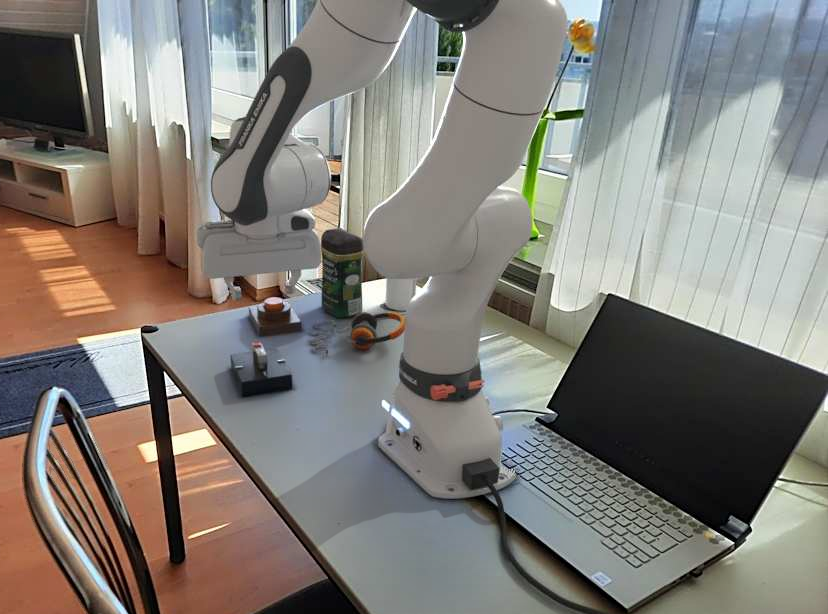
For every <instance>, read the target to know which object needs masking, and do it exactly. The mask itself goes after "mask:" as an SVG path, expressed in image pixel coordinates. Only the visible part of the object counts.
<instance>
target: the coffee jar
mask: <svg viewBox="0 0 828 614" xmlns="http://www.w3.org/2000/svg"><path fill="white" fill-rule="evenodd" d="M320 246H321V265H322V266H321V267H322V269H321V270H322V271H321V275H322V276H321V308H322V309H323V310H324V311H325V312H326V313H328V314H329V315H331V316H333V317H335V318H339V319H341V318H343V319H344V318H345V319H346V318H347V319H349V318H354V317H355V316H356V315H357V314H359V313H363V312H362V311H363V287H362V286H363V285H362V284H363V283H362V282H363V280H362V278H363V277H362V265H363V264H362V263H363V262H362V261H363V257H364V242H363V237H360V236H359V235H357V234H355V233H353V232H352V231H351V232H350V231H349V230H346V229H343V228H342V227H336V228H330V229H326V230H324V231H323V233H322V234H321V239H320Z"/></svg>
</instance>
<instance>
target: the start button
mask: <svg viewBox="0 0 828 614" xmlns="http://www.w3.org/2000/svg"><path fill="white" fill-rule="evenodd" d="M283 301H284V299H283V298H281V297H276V296H272V297H267V298H265V299H264V301H263V302H264V306H265V310H268V311H278V310H281V309H283Z"/></svg>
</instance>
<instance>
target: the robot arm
mask: <svg viewBox="0 0 828 614" xmlns="http://www.w3.org/2000/svg"><path fill="white" fill-rule="evenodd" d="M417 10H418V11H420V12H421V13H423V14H425V16H428V17H430V18H431V19H433V20H434V21H435V22H436V23H437V24H439V26H441V27H442V29H444V30H445V31H447V32H448V33H451V34H461V33H462V35H463V36H462V37H463V40H462V41H463V43H462V49H461V53H460V57H459V60H458V63H457V67H456V69H455V73H454V76H453V80H452V83H451V86H450V90H449V93H448V97H447V99H446V102H445V105H444V109H443V111H442V115H441V118H440V121H439V124H438V126H437V129H436V132H435V135H434V137H433V140H432V142H431V143H430V145H429V147H428V149H427V151H426V152H425V154H424V156H423V157H422V159H421V160H420V162H419V163H418V165H417V166H416V168H415V169H414V170H413V171H412V173H411V174H410V175H409V177H408V178H407V179H406V181H405V182H404V183H403V184H402V185H401V186H400V187H399V188H398V189H397V190H395V191H396V192H394V193H393V194H392V195H391V196H389V198H387V199H386V200H385V201H383V202H382V203H380V204H379V205H377V206H375V207H374V208H373V209H372V210H371V212H370V213H369V215H368V217H367V219H366V222H365V225H364V228H363V235H362V236H363V237H362V239H363V250H364V253H365V255H366V257H367V258H366V259H368V262H369V263H370V265H371V267H372V268H373V269H374V270H375V271H376V272H377V273H378V274H379V275H380V276H382V277H384V278H390V279H416V280H423V279H427V278H429V279H428V281H427V282H426V284H425V285H424V286H423V287H422V288H421V289H420V290H419V291H418V292H416V294H415V296H414V297H413V298H412V300H411V301H410V303H409V304H408V307H407V309H406V310H405V313H404V315H405V316H404V319H405V331H404V332H403V335H404V336H403V350H402V351H401V353H400V358H399V362H398V370H399V371H398V378H399V382H398V385H397V387H396V388H395V390H394V391H393V393H392V394H391V396H390V399H389V403H388V402H387V401H386V400H385V399H383V400H382V401H381V406H382V407H383V408H384V409H385V410H386V411H387V419H386V420H387V421H386V428H385V432H384V433H383V434H381V435H379V437H378V440H377V441H378V442H377V446H378V448H379V449H380V450H381V451H382V452H383V453H384V454H385V455H387V456H388V457H389V458H390V459H391V460H392V461H393V462H394V463H395V464H396V465H397V466H398V467H399V468H401V470H403V471H404V473H406V474H407V476H409V477H410V478H411V479H412V480H413V481H414V482H415V483H416V484H417V485H418V486H419V487H420V488H422V489H423V490H424V491H425V492H426V493H427V494H428V495H429V496H431V497H433V498H439V499H454V500H456V499H457V500H458V499H466V498H473V497H478V496H482V495H486V494H490V493H491V494H492V495H493V498H494V499H495V502H496V505H497V510H498V511H497V512H498V516H499V523H500V539H501V541H500V542H501V546H502V549H503V551H504V554H505V556H506V557H507V559H508V561H509V562H510V564H511V565H512V567H513V568H514V569H515V571H516V572H517V573H518V574H519V575H520V576H521V577H522V578H523V579H524V580H525V581H526V582H528V583H529V584H530V585H532V586H533V587H534V588H535V589H536V590H538V591H539V592H541V593H542V594H543V595H545V596H547V597H548V598H550V599H551V600H553V601H554V602H555V603H557V604H560V605H562V606H563V607H566V608H569V609H570V610H574V611H577V612H580V613H582V614H609V612H606V611H603V610H600V609H597V608H592V607H589V606H585V605H583V604H580V603H577V602H574V601H571V600H568V599H567V598H564V597H562V596H560V595H559V594H557V593H555V592H554V591H552V589H549V588H547V587H546V586H545V585H543V584H542V583H541V582H539V581H538V580H537V579H535V578H534V577H533V576H532V575H530V574H529V573H528V572H527V571H526V570H525V569H524V567H522V565H521V564H520V563H519V562H518V561H517V559H516V558H515V556H514V555H513V553H512V551H511V549H510V547H509V543H508V529H507V528H508V527H507V518H506V514H505V513H506V512H505V508H504V503H503V500H502V497H501V495H500V493H499V490H501V489H503V488H505V487H507V486H509V485H510V484H511V483H513V482H514V481H515V479H516V478H517V472H516V473H515V470H516V469H515V470H514V471H513V469H511V471H510V469H509V472H508V469H507V470H506V471H505V469H506V467H505V468H504V469H503V467H501V455H502V448H503V439H502V434H501V432H502V431H503V429H504V421H503V418H502V417H501V416H500V415H494V416H493V413H492V411H491V408H490V399H489V396H488V397H487V396H485V395H484V392H483V390H482V388H484V387H485V386H484V384H483V383H485V379H483V378H482V374H483V373H482V367H481V362H480V358H479V350H480V342H481V335H482V329H483V322H484V318H485V317H484V316H485V314H486V310H487V307H488V304H489V302H490V299H491V296H492V294H493V292H494V291H495V289H496V287H497V284H498V282H499V280H500V278H501V277H502V275H503V273H504V271H505V270H506V269H507V267H508V266H509V265H510V263H511V262H512V261H513V260H514V258H515V257H516V256H517V255H518V254H519V253H520V252H521V251H522V250H523V249H524V248H526V246H527V244H528V243H529V241H530V239H531V237H532V232H533V228H534V227H533V226H534V224H533V223H534V222H533V221H534V219H533V213H532V209H531V207H530V204H529V202H528V200H527V199H526V197H525V196H524V195H523V194H522V193H521V192H520V191H518V189H515V188H511V187H506V186H501V185H503V184H504V183H506V182H507V181H508V180H510V179H512V177H513V176H514V175H515V174H516V173H517V172H518V171H519V169H520V167H521V166H522V165H523V163H524V160H525V157H526V154H527V153H528V149H529V147H530V145H531V142H532V140H533V137H534V135H535V133H536V130H537V127H538V125H539V123H540V120H541V119H542V116H543V113H544V111H545V108H546V105H547V103H548V100H549V98H550V95H551V92H552V89H553V86H554V83H555V80H556V77H557V74H558V70H559V67H560V63H561V59H562V56H563V51H564V48H565V47H564V46H565V41H566V36H567V32H568V26H569V25H568V15H567V12H566V10H565V7H564V6H563V4H562V3H561V2H560V1H559V0H317V1H316V4H315V6H314V8H313V10H312V11H311V14H310V15H309V18H308V19H307V21H306V22H305V23H304V25H303V27H302V29H301V30H300V32H299V33H298V34H297V35H296V36H295V38H294V40H292V42H291V43H289V46H288V47H287V48H286V49H284V50H283V51H282V52H281V53H280V55H279V56H278V57H277V58H276V59H275V60H274V61H273V63H272V64H271V66H270V67H269V70H268V71H267V73H266V75H265V77H264V78H263V80H262V82H261V84H260V86H259V87H258V88H259V89H258V90H257V92H256V95H255V96H254V98H253V101H252V102H251V105H250V107H249V109H248V110H247V113H246V115H245V116H241V117H238V118H236V119H235V120H234V121H232V123H231V126H230V131H229V139H228V148H227V149H226V150H225V151H224V152H223V153H222V154H221V155H220V157H219V159H218V160H217V162H216V163H215V166H214V168H213V171H212V174H211V177H210V178H211V179H210V192H211V197H212V199H213V202H214V204H215V206H216V207H217V208H218V210H219V211H220V212H221V213H222V214H223V215H224V216H225V217H227V218H228V219H225V220H219V221H206V222H205V223H204V224H202V225H200V226H199V227H198V229H197V230H196V241H197V245H198V247H199V248H200V269H201V272H202V275H203V276H204V277H205V278H207V279H209V280H214V279H223V280H224V283H225V285H226V286H227V287H228V288H229V290H230V295H231V299H232V301H239V300H243V299H242V290H241V288H240V286H235V285H234V284H233V283H234V282H235V280H234V277H235V278H236V277H243V276H253V275H254V276H255V275H263V274H272V273H273V274H274V273H283V272H290V273H291V276H290V278H289V280H288V281H284V293H285V294H286V295H294V294H296V285H297V283H298V282H299V280H300V279H301V276H302V271H303V270H304V271H305V270H313V269H318V268H319V266H320V265H322V253H321V239H320V237H319V234H318V233H317V231H315V228H316V219H315V217H314V216H313V215H312V213H311V212H310V211H308V210H307V209H311V208H314V207H316V206H319V205H321V204H323V202H324V201H325V200H326V199H327V197H328V195H329V193H330V189H331V185H332V173H331V167H330V163H329V161H328V159H327V157H326V156H325V154H324V153H323V152H322V150H320V149H319V148H318V147H316V145H312V144H308V143H306V142H304V141H302V140H300V139H299V138H298V137H296V136H295V135H294V134H292V132H293V130H294V128H295V127H296V125H298V123H299V122H300V121H301V120H302V119H304V117H306V116H307V115H308V114H309V113H311V112H312V111H315V110H316V109H318V108H320V107H322V106H324V105H326V104H328V103H330V102H332V101H335V100H338V99H340V98H342V97H345V96H348V95H351V94H354V93H356V92H359V91H361V90H364V89H365V88H368V87H369V86H371V85H373V84H374V83H375V82H376V81H377V80H378V79H379V78H380V76H381V75H382V74H383V73H384V71H385V70H386V69H387V68H388V66H389V65H390V64H391V62H392V60H393V59H394V56H395V54H396V52H397V50H398V49H399V46H400V44H401V42H402V40H403V37H404V36H405V34H406V31H407V29H408V27H409V25H410V23H411V21H412V18H413V16H414V15H415V13H416V11H417ZM454 26H458V27H454ZM504 463H507V462H504ZM512 471H513V473H512ZM507 472H508V473H507ZM514 473H515V474H514ZM509 474H510V475H509ZM513 475H514V476H513ZM512 476H513V477H512ZM511 477H512V478H511ZM507 480H508V481H507ZM484 488H485V489H484ZM486 488H487V489H486ZM478 490H479V491H478Z"/></svg>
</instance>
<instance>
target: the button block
mask: <svg viewBox="0 0 828 614" xmlns="http://www.w3.org/2000/svg"><path fill="white" fill-rule="evenodd" d="M248 317H249V319H250V321H251V323H252V325H253V326H254V328H255V331H256V332H257V335H258V336H259V337H266V336H274V335H280V334H281V335H282V334H290V333H297V332H302V321H301V319H300V318H299V316H298V315H297V313H296V312H295V310H294V309H293V307H292V306H291V304H290V303H289V302H286V301H284V300H283V309H281V310H278V311H268V310H265V306H264V301H263V302H261V303H259V304H258V305H256V306H249V307H248Z"/></svg>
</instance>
